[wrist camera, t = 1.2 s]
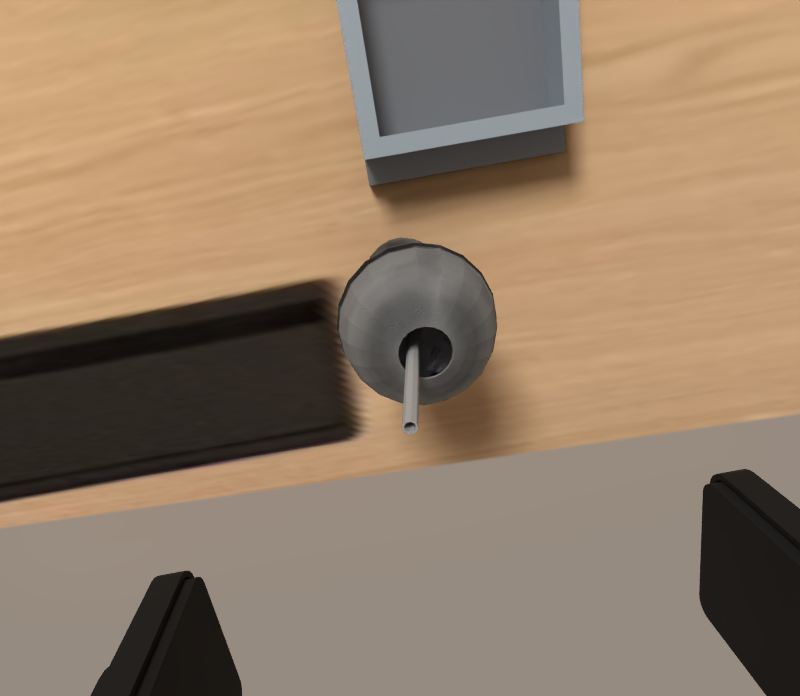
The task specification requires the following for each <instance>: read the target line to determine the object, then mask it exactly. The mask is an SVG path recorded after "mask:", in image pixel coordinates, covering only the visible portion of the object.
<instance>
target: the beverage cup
mask: <svg viewBox="0 0 800 696" xmlns="http://www.w3.org/2000/svg"><path fill="white" fill-rule="evenodd" d="M337 330H338V334H339V338H340V341H341V345H342V349H343V352H344V353H345V355H346V358H347V359H348V361H349V362H350V364H351V365H352V367H353V368H354V370H355V371H356V373H357V374H358V376H359V377H360V379H361V380H362V381H363V382H364V383H366V384H367V385H368V386H369V387H371V388H372V389H373V390H375V391H376V392H377V393H378V394H380V395H382V396H384V397H387V398H390V399H392V400H395V401H397V402H400V403H403V418H402V428H403V431H404V432H405V433H407V434H413V433H416V431H417V430H418V417H419V405H426V404H431V403H435V402H440V401H444V400H447V399H449V398H451V397H453V396H455V395H456V394H458V393H460V392H462V391H464V390H466V389H467V388H468V387H469V386H470V385H471V384H472V383H473V382H474V380H475V379H476V378H477V377H478V376H479V375H480V374H481V373H482V371H483V369H484V368H485V366H486V364H487V362H488V360H489V358H490V356H491V354H492V352H493V349H494V343H495V337H496V331H497V322H496V311H495V305H494V299H493V293H492V292H491V290H490V288H489V286H488V284H487V282H486V280H485V278H484V277H483V275H482V273H481V272H480V271H479V270H478V269H477V268H476V267H475V266H474V265H473V264H472V263H471V262H470V261H468V260H467V259H466V258H465V257H464V256H463V255H461V254H459V253H456V252H454V251H452V250H450V249H447V248H445V247H443V246H441V245H434V244H424V243H422V242H419V241H417V240H415V239H408V238H397V239H393V240H389V241H388V242H386V243H384V244H383V245H381V246H380V247H379V248H378V249H377V250H376V251H375V252H374V253H373V255H372V256H371V257H370V259H369V260H367V261H366V262H364V264H363V265H362V266H361V267H360V268H359V269H358V271H357V272H356V273H355V274H354V275H353V276H352V277H351V279H350V280H349V281H348V283H347V285H346V288H345V290H344V293H343V295H342V297H341V300H340V302H339V307H338V322H337Z"/></svg>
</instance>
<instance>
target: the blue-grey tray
mask: <svg viewBox="0 0 800 696" xmlns="http://www.w3.org/2000/svg"><path fill="white" fill-rule="evenodd" d="M336 1H337V6H338V12H339V18H340V23H341V29H342V35H343V40H344V46H345V52H346V57H347V63H348V69H349V74H350V80H351V86H352V91H353V97H354V102H355V108H356V114H357V119H358V125H359V131H360V136H361V142H362V148H363V153H364V159H365V162H366V168H367V173H368V179H369V185H370V186H372V185H378V184H383V183H389V182H395V181H400V180H406V179H412V178H417V177H423V176H429V175H435V174H440V173H446V172H452V171H457V170H463V169H469V168H475V167H480V166H486V165H492V164H497V163H503V162H509V161H515V160H520V159H526V158H532V157H537V156H543V155H549V154H554V153H560V152H566V141H565V125H567V124H572V123H578V122H584V114H583V90H582V66H581V43H580V19H579V0H336Z"/></svg>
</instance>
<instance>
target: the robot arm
mask: <svg viewBox="0 0 800 696" xmlns="http://www.w3.org/2000/svg"><path fill="white" fill-rule="evenodd" d="M701 536H702V537H701V563H700V593H699V595H700V602H701V605H702V608H703V610H704V613H705V614H706V616H707V617H708V619H709V620H710V622H711V623H712V624H713V626H714V627H715V628H716V630H717V631H718V632H719V633H720V635H721V636H722V638H723V639H724V640H725V641H726V643H727V644H728V645H729V647H730V648H731V650H732V651H733V652H734V653H735V655H736V656H737V657H738V659H739V660H740V661H741V663H742V664H743V665H744V666H745V668H746V669H747V671H748V672H749V673H750V675H751V676H752V677H753V679H754V680H755V681H756V682H757V684H758V685H759V686H760V688H761V689H762V690H763V692H764V693H765V694H766V695H767V696H800V509H799V508H798V507H797V506H795V505H794V504H793V503H792V502H790V501H789V500H788V499H787V498H785V497H784V496H783V495H781V494H780V493H779V492H778V491H777V490H775V489H774V488H773V487H771V486H770V485H769V484H768V483H766V482H765V481H764V480H763V479H761V478H760V477H759V476H758V475H756V474H755V473H754V472H752V471H750V470H747V469H743V470H737V471H731V472H726V473H720V474H716V475H713V476H712V478H711V481H710V484H707V485H705V486H704V489H703V506H702V535H701ZM91 696H242V687H241V681H240V678H239V675H238V673H237V670H236V667H235V665H234V662H233V659H232V656H231V654H230V651H229V648H228V646H227V643H226V640H225V637H224V635H223V632H222V629H221V626H220V624H219V621H218V618H217V616H216V613H215V610H214V607H213V605H212V602H211V599H210V597H209V594H208V591H207V588H206V586H205V583H204V581H203V579H202V578H201V577H196V578H194V576H193V574H192V573H191V572H190V571H182V572H177V573H171V574H166V575H160V576H157V577H155V578H154V579H153V581H152V582H151V584H150V586H149V588H148V590H147V592H146V594H145V596H144V598H143V600H142V602H141V604H140V606H139V608H138V610H137V612H136V614H135V616H134V618H133V620H132V622H131V624H130V626H129V628H128V630H127V632H126V634H125V636H124V638H123V640H122V642H121V644H120V646H119V648H118V650H117V652H116V654H115V656H114V658H113V660H112V662H111V664H110V666H109V667H108V668H107V669H106V670H105V671H104V672H103V674H102V675H101V677H100V678H99V680H98V682H97V684H96V686H95V688H94V690H93V692H92V694H91Z"/></svg>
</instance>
